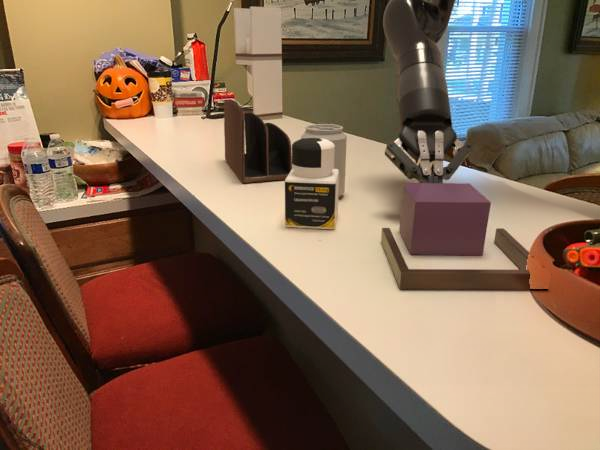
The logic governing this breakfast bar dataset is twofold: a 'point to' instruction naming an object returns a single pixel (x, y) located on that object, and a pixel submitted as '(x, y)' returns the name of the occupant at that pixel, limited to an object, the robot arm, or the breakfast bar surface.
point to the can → (338, 139)
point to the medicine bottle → (312, 185)
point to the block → (443, 218)
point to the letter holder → (255, 146)
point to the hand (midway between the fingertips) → (433, 203)
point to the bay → (461, 277)
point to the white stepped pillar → (261, 57)
